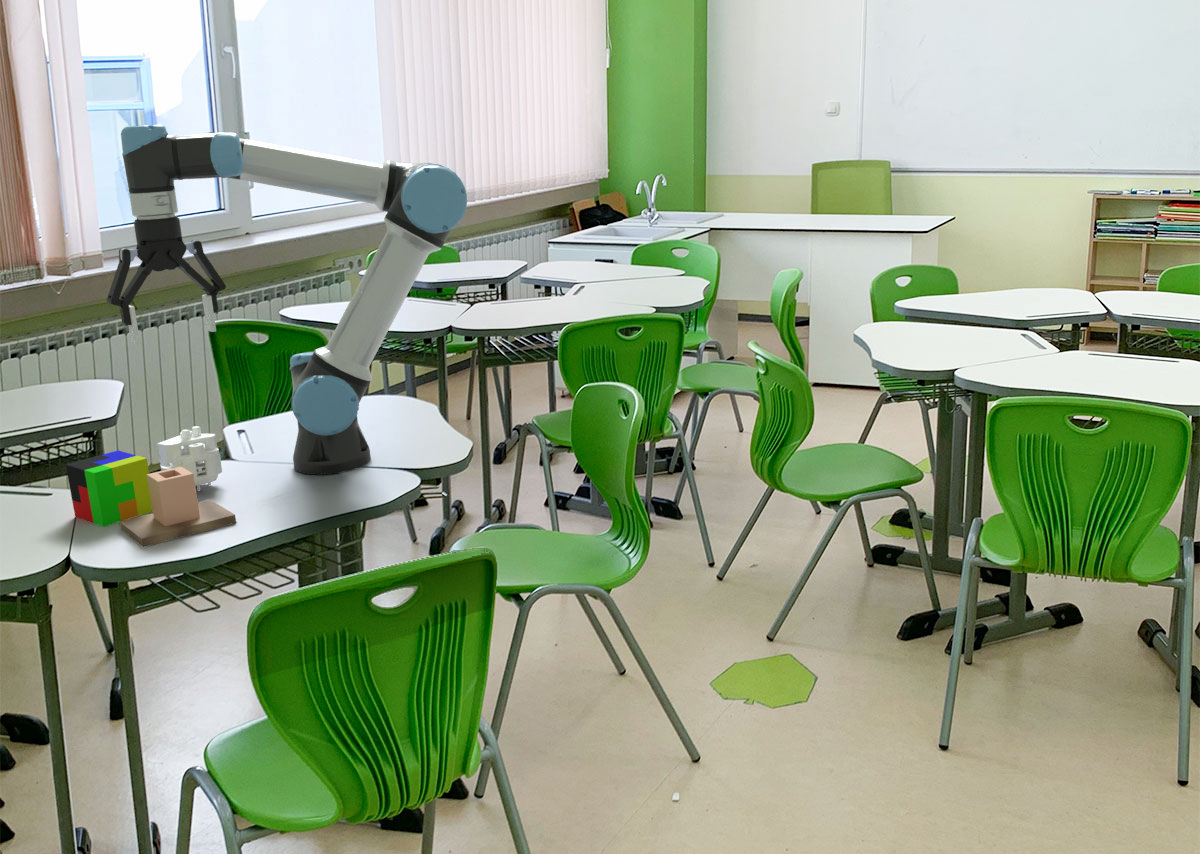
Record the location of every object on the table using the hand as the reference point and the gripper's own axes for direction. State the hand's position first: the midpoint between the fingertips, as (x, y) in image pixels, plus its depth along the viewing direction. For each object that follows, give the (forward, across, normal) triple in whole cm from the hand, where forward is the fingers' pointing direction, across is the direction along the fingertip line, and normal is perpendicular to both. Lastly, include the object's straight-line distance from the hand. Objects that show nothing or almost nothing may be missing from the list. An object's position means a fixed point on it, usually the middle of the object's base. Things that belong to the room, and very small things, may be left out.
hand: (174, 337), depth 209 cm
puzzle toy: (+31, -14, +4) cm, 34 cm away
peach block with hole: (+29, -8, -12) cm, 32 cm away
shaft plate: (+31, -8, -12) cm, 34 cm away
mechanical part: (+31, +2, +8) cm, 32 cm away
